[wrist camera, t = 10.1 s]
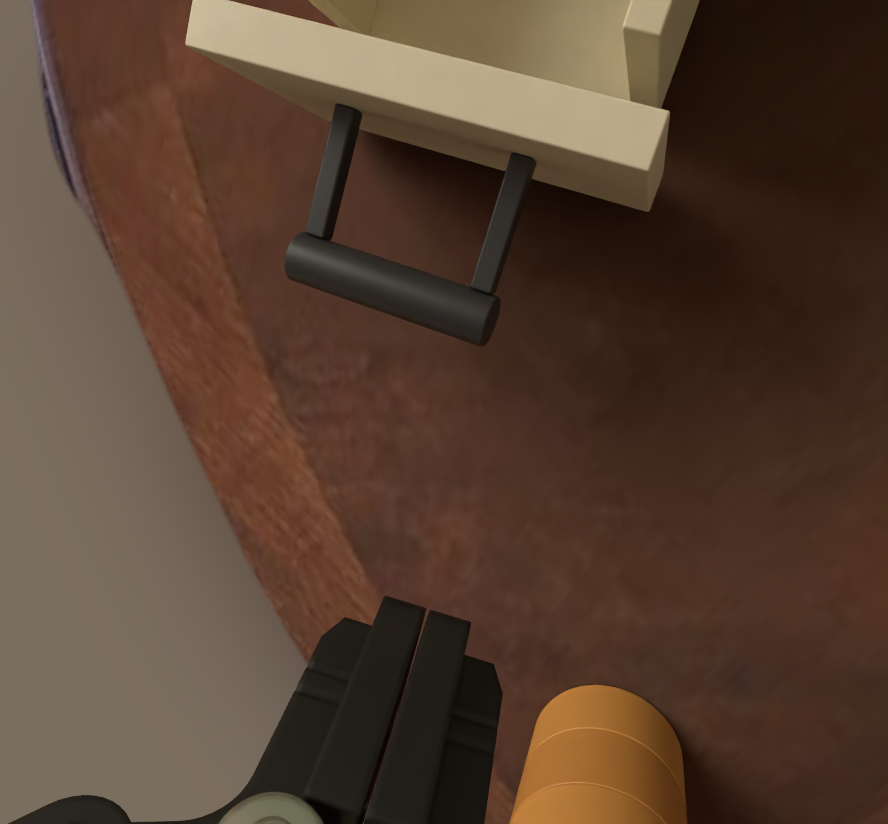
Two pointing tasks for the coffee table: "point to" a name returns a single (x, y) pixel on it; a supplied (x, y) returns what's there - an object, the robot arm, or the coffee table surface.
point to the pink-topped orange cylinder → (601, 763)
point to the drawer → (462, 115)
